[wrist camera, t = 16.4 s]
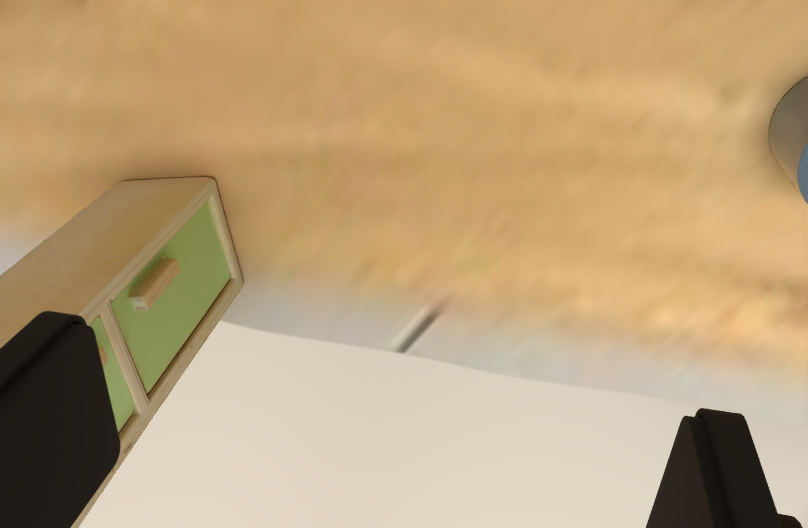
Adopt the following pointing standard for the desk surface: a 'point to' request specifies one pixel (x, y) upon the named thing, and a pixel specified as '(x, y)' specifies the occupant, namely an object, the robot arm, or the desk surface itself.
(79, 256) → the toy refrigerator
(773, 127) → the short metal cylinder
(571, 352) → the desk surface
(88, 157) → the desk surface
